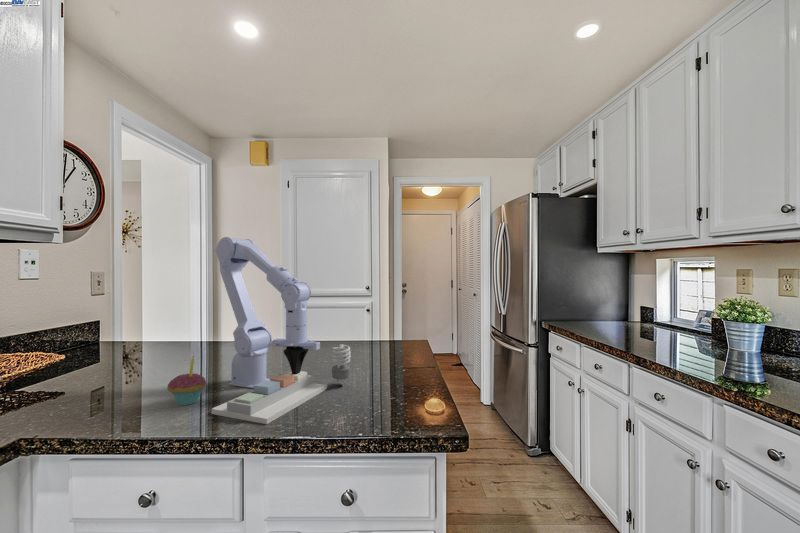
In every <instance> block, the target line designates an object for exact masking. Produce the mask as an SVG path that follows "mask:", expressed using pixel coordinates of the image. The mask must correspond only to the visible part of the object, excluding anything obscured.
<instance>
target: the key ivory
mask: <svg viewBox="0 0 800 533" xmlns="http://www.w3.org/2000/svg"><path fill="white" fill-rule="evenodd" d="M284 374H285V375H293V376H294V381H300V380H302V379H304V378H306V377H307V375H308V372H307V371H303V370H301V371H300V373H298V374H292V371H290V372H287V373H284Z"/></svg>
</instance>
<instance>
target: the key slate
mask: <svg viewBox="0 0 800 533" xmlns="http://www.w3.org/2000/svg"><path fill="white" fill-rule="evenodd" d="M253 390H254V393H255V394H262V395H270V394H272V393H275V392H277V391H279V390H280V382H275V381H268V380H265V381H263V382H260V383H258V384H256V385H254V388H253Z"/></svg>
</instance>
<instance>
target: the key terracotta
mask: <svg viewBox="0 0 800 533" xmlns="http://www.w3.org/2000/svg"><path fill="white" fill-rule="evenodd" d="M285 374H286V373H280V374H278V375H275V376H273V377H271V378H269V379H270V381H275V382H280V387H281V388H285V387H287V386H289V385H291V384H293V383H294V376H293V375H285Z"/></svg>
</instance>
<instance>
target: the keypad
mask: <svg viewBox="0 0 800 533" xmlns="http://www.w3.org/2000/svg"><path fill="white" fill-rule="evenodd" d="M326 390H328V385H327V384H323V383H316V382H314V375H311V374H307V377H306V378H304V379H302V380H300V381H294V383H293V384H291V385H289V386H287V387H285V388H281V387H280V390H279V391H277V392H275V393H272V394H270V395H264V398H262V399H260V400H258V401H256V402H254V403H252V404H246V403H240V402H235V398H233V399H230V400H228V401H226V402H223V403H221V404H220V405H217V406H214V407H212V408H211V415H216V416H220V417H226V418H232V419H236V420H242V421H248V422H252V423H257V424H258V423H259V424H263V425H269V424H270V423H272V422H273V421H275V420H277V419H278V418H280V417H282V416H284V415H285V414H287V413H288V412H290V411H292V410H293V409H295V408H297V407H299V406H301V405H302V404H304V403H306V402H308V401H309V400H311V399H312V398H314V397H317V396H318V395H319V394H321V393H322V392H325V391H326ZM247 393H254V389H252V390H251V391H250V392H249V391H248V392H247ZM247 393H244V394H243V395H245V394H247ZM261 395H262V394H261ZM240 396H241V395H240ZM240 396H238V397H240ZM238 397H236V398H238Z"/></svg>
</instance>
